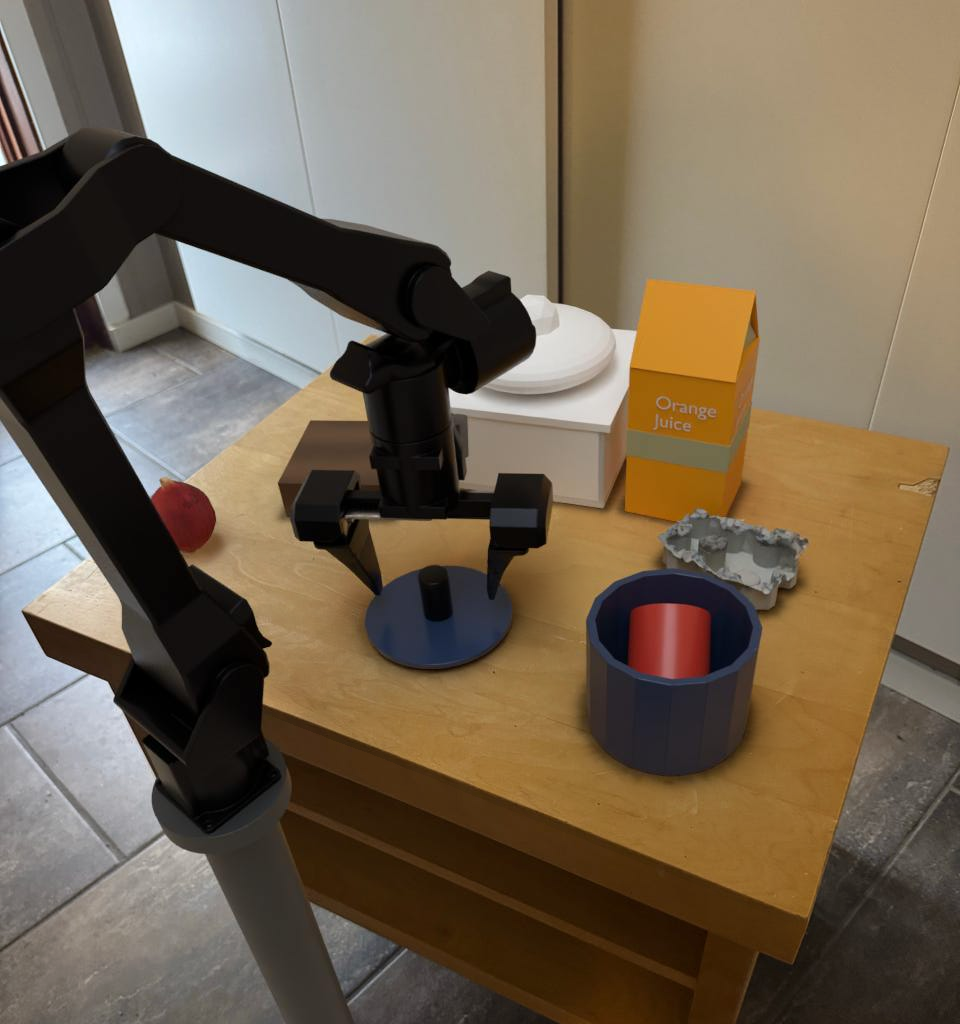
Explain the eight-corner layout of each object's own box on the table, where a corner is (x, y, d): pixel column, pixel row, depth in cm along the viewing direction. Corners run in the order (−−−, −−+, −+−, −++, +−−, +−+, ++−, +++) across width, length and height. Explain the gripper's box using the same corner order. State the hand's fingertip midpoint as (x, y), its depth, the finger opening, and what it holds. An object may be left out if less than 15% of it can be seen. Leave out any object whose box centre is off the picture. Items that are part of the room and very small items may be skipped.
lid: (441, 697, 73) (433, 649, 69) (336, 631, 79) (325, 583, 75) (543, 613, 79) (541, 564, 75) (438, 557, 85) (432, 510, 81)
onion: (216, 524, 91) (192, 451, 86) (232, 556, 87) (208, 482, 82) (155, 544, 90) (127, 471, 84) (169, 578, 86) (140, 504, 80)
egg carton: (808, 578, 79) (817, 539, 76) (756, 625, 76) (762, 586, 73) (701, 528, 85) (705, 489, 82) (647, 569, 81) (650, 530, 79)
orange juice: (650, 466, 93) (661, 259, 79) (742, 483, 89) (770, 270, 76) (623, 512, 88) (629, 299, 74) (719, 531, 84) (745, 313, 71)
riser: (388, 519, 90) (382, 485, 87) (286, 516, 91) (277, 482, 89) (412, 454, 98) (407, 421, 95) (317, 452, 99) (310, 420, 97)
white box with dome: (487, 394, 105) (475, 247, 94) (650, 412, 100) (658, 259, 89) (427, 484, 93) (405, 329, 82) (608, 510, 88) (611, 348, 77)
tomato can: (680, 702, 62) (684, 598, 64) (609, 707, 66) (614, 609, 68) (723, 718, 66) (726, 619, 68) (654, 722, 70) (657, 628, 71)
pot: (687, 803, 64) (697, 711, 58) (556, 723, 70) (552, 633, 64) (775, 705, 69) (793, 612, 63) (647, 639, 75) (652, 548, 69)
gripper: (557, 364, 70) (561, 535, 81) (311, 364, 73) (347, 529, 84) (541, 448, 62) (548, 625, 73) (266, 444, 65) (312, 615, 76)
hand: (435, 594), depth 77 cm, fingers open, 9 cm apart
